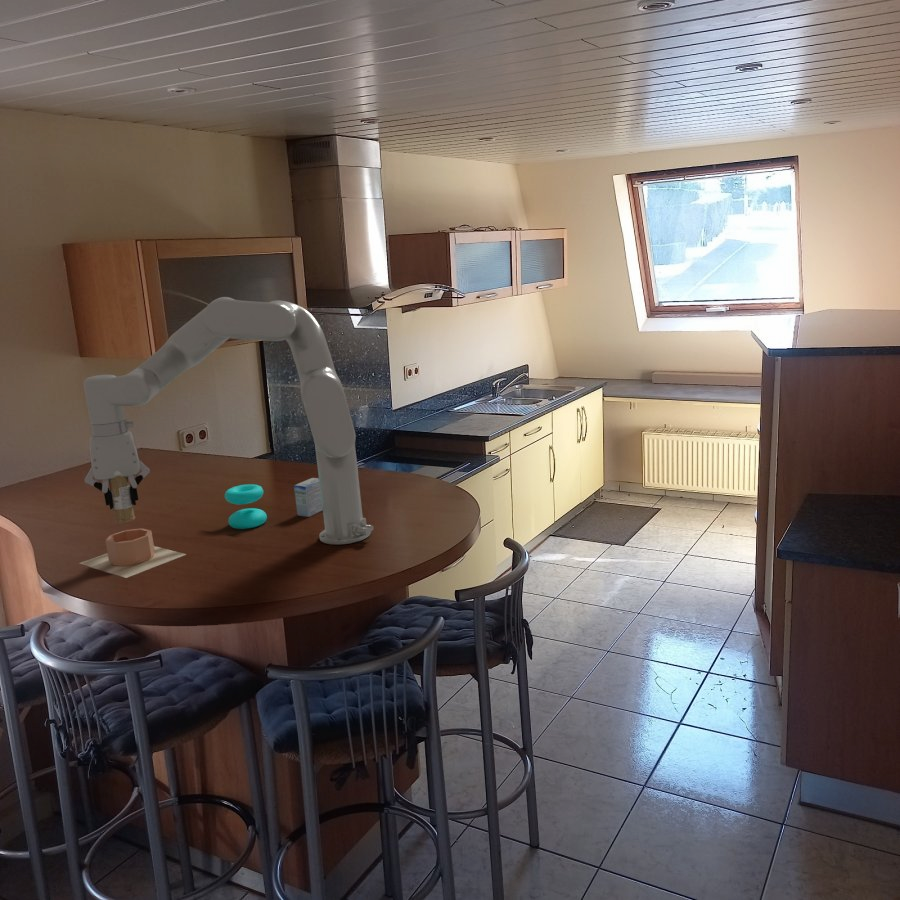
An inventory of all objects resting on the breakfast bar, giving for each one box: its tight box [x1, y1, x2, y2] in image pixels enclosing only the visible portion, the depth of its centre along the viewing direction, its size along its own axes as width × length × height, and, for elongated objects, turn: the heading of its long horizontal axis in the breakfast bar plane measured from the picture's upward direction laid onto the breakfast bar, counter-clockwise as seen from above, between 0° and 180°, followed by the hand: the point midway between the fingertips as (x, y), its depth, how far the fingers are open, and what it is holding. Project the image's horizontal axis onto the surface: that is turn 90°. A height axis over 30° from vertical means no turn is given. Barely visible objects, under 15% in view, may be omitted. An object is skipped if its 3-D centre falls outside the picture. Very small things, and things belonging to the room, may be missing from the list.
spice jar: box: [108, 471, 136, 524], centre depth 193 cm, size 5×5×14 cm
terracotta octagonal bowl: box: [105, 528, 155, 566], centre depth 196 cm, size 10×10×6 cm
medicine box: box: [293, 477, 323, 518], centre depth 226 cm, size 8×4×9 cm, turn 149°
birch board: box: [78, 545, 187, 579], centre depth 197 cm, size 20×16×2 cm
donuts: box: [224, 483, 268, 530], centre depth 220 cm, size 10×10×10 cm
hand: (122, 504), depth 194 cm, fingers closed on spice jar, 4 cm apart
